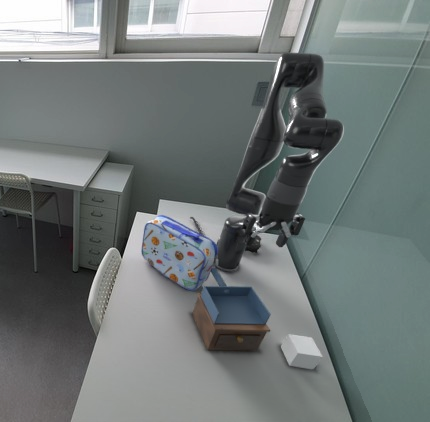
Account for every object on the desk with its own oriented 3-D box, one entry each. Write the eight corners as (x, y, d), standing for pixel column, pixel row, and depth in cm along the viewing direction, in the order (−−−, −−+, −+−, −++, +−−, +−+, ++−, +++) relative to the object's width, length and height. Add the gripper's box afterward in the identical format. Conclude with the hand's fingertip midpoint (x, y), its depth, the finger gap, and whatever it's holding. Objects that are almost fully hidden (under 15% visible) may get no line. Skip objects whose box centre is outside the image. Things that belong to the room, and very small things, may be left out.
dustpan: (265, 324, 86) (271, 314, 83) (214, 323, 86) (218, 313, 84) (232, 273, 103) (236, 264, 101) (189, 273, 104) (192, 263, 101)
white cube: (280, 346, 91) (288, 334, 87) (303, 350, 90) (311, 337, 86) (289, 365, 86) (297, 352, 82) (313, 369, 85) (323, 356, 81)
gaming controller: (235, 225, 136) (262, 228, 131) (234, 236, 139) (260, 239, 134) (232, 241, 126) (261, 245, 121) (231, 253, 129) (259, 258, 123)
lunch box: (213, 286, 111) (230, 239, 100) (197, 300, 106) (213, 251, 95) (151, 249, 130) (160, 205, 118) (135, 259, 125) (142, 215, 113)
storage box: (190, 313, 102) (197, 292, 96) (236, 314, 101) (246, 292, 96) (208, 354, 89) (217, 332, 84) (260, 354, 89) (272, 333, 83)
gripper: (303, 189, 81) (281, 237, 90) (248, 189, 82) (231, 237, 90) (323, 203, 75) (297, 254, 83) (264, 203, 75) (243, 254, 84)
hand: (263, 245), depth 87 cm, fingers open, 8 cm apart
